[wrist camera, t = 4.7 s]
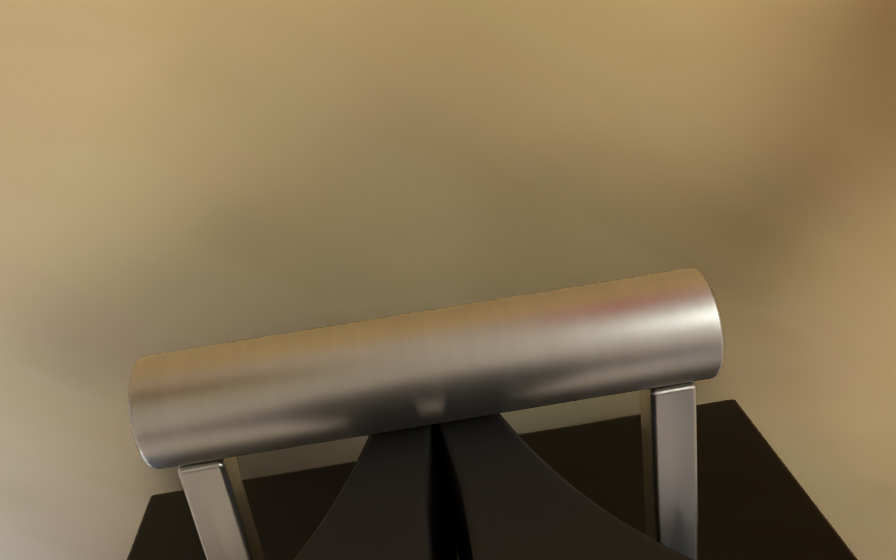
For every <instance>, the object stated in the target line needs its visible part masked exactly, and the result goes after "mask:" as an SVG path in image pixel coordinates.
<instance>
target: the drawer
mask: <svg viewBox="0 0 896 560" xmlns="http://www.w3.org/2000/svg"><path fill="white" fill-rule="evenodd" d="M723 360H724V332H723V324H722V319H721V314H720V310H719V306H718V303H717V300H716V297H715V295H714V292H713V290H712V288H711V286H710V284H709V282H708V280H707V279H706V277H705V276H704V275H703V273H702V272H700V271H699V270H697V269H693V268H688V269H682V270H675V271H669V272H663V273H657V274H651V275H644V276H638V277H632V278H626V279H619V280H613V281H607V282H601V283H595V284H588V285H582V286H576V287H570V288H563V289H557V290H551V291H545V292H539V293H532V294H526V295H520V296H514V297H507V298H501V299H495V300H489V301H483V302H476V303H470V304H464V305H458V306H452V307H445V308H439V309H433V310H427V311H420V312H414V313H408V314H402V315H396V316H389V317H383V318H377V319H371V320H364V321H358V322H352V323H346V324H340V325H333V326H327V327H321V328H315V329H308V330H302V331H296V332H290V333H284V334H277V335H271V336H265V337H259V338H252V339H246V340H240V341H234V342H228V343H221V344H215V345H209V346H203V347H197V348H190V349H184V350H178V351H172V352H165V353H159V354H153V355H147V356H143V357H142V358H140V359H139V360H138V361H137V362H136V363H135V365H134V367H133V369H132V372H131V377H130V382H129V395H128V403H129V416H130V423H131V428H132V432H133V436H134V439H135V443H136V446H137V448H138V451H139V453H140V455H141V457H142V458H143V460H144V461H145V463H146V464H147V465H148V466H150V467H152V468H155V469H163V468H169V467H175V466H179V468H178V474H179V477H180V480H181V483H182V486H183V489H184V490H181V491H175V492H169V493H163V494H157V495H153V496H151V498H150V500H149V503H148V506H147V508H146V511H145V514H144V516H143V519H142V522H141V524H140V527H139V529H138V532H137V535H136V537H135V540H134V543H133V545H132V548H131V551H130V553H129V556H128V558H127V560H294V559H295V557H296V556H297V555H298V553H299V552H300V551H301V549H302V548H303V547H304V545H305V544H306V543H307V541H308V540H309V539H310V537H311V536H312V535H313V533H314V532H315V530H316V529H317V528H318V526H319V525H320V523H321V522H322V520H323V519H324V517H325V516H326V514H327V513H328V511H329V509H330V508H331V506H332V504H333V503H334V501H335V499H336V498H337V496H338V494H339V493H340V491H341V489H342V488H343V486H344V484H345V482H346V481H347V479H348V477H349V476H350V474H351V472H352V470H353V468H354V466H355V464H356V462H357V461H356V462H350V463H344V464H338V465H332V466H326V467H320V468H314V469H308V470H302V471H296V472H290V473H284V474H278V475H272V476H266V477H259V478H253V479H247V480H242V479H241V475H240V472H239V468H238V465H237V462H236V458H235V457H236V456H242V455H248V454H254V453H260V452H266V451H273V450H279V449H285V448H291V447H297V446H303V445H309V444H315V443H321V442H327V441H333V440H339V439H345V438H352V437H358V436H364V435H370V434H376V433H382V432H388V431H394V430H400V429H406V428H412V427H418V426H424V425H431V424H437V423H443V422H449V421H455V420H461V419H467V418H473V417H479V416H485V415H491V414H497V413H503V412H510V411H516V410H522V409H528V408H534V407H540V406H546V405H552V404H558V403H564V402H570V401H576V400H582V399H589V398H595V397H601V396H607V395H613V394H619V393H625V392H631V391H637V390H640V410H641V415H634V416H628V417H622V418H616V419H610V420H604V421H598V422H592V423H586V424H580V425H574V426H568V427H562V428H556V429H550V430H544V431H538V432H532V433H526V434H520V435H519V436H520V437H521V438H522V439H523V440H524V441H525V442H526V444H527V445H528V446H529V447H530V448H531V449H532V450H533V451H534V452H535V453H536V454H537V455H538V456H539V457H540V458H541V459H542V460H544V461H545V462H546V463H547V464H548V465H549V466H550V467H551V468H552V469H553V470H555V471H556V472H557V473H558V474H559V475H560V476H561V477H562V478H564V479H565V480H566V481H567V482H568V483H570V484H571V485H572V486H573V487H575V488H576V489H577V490H578V491H579V492H581V493H582V494H583V495H585V496H586V497H587V498H589V499H590V500H592V501H593V502H594V503H596V504H597V505H598V506H600V507H601V508H602V509H604V510H605V511H607V512H608V513H610V514H611V515H613V516H614V517H616V518H617V519H619V520H620V521H622V522H624V523H626V524H627V525H629V526H631V527H633V528H634V529H636V530H638V531H640V532H641V533H643V534H645V535H647V536H648V537H650V538H652V539H654V540H655V541H657V542H659V543H661V544H663V545H665V546H667V547H669V548H671V549H673V550H675V551H677V552H679V553H681V554H684V555H686V556H688V557H690V558H692V559H694V560H857V558H856V557H855V556H854V555H853V553H852V552H851V551H850V549H849V548H848V547H847V545H846V544H845V543H844V541H843V540H842V539H841V538H840V536H839V535H838V534H837V532H836V531H835V530H834V528H833V527H832V526H831V524H830V523H829V522H828V521H827V519H826V518H825V517H824V515H823V514H822V513H821V511H820V510H819V509H818V508H817V506H816V505H815V504H814V502H813V501H812V500H811V498H810V497H809V496H808V494H807V493H806V492H805V491H804V489H803V488H802V487H801V485H800V484H799V483H798V481H797V480H796V479H795V478H794V476H793V475H792V474H791V472H790V471H789V470H788V468H787V467H786V466H785V464H784V463H783V462H782V461H781V459H780V458H779V457H778V455H777V454H776V453H775V451H774V450H773V449H772V447H771V446H770V445H769V444H768V442H767V441H766V440H765V438H764V437H763V436H762V434H761V433H760V432H759V431H758V429H757V428H756V427H755V425H754V424H753V423H752V421H751V420H750V419H749V417H748V416H747V415H746V414H745V412H744V411H743V410H742V408H741V407H740V406H739V404H738V403H737V402H736V401H735V400H733V399H731V400H725V401H719V402H713V403H707V404H701V405H696V386H695V384H694V382H693V381H698V380H704V379H710V378H713V377H715V376H716V375H718V374H719V372H720V371H721V368H722V365H723ZM455 542H456V541H455ZM456 549H457V547H456ZM457 560H460V559H459V555H458V552H457Z"/></svg>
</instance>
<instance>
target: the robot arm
mask: <svg viewBox="0 0 896 560" xmlns="http://www.w3.org/2000/svg"><path fill="white" fill-rule="evenodd" d="M455 541H456V542H455ZM456 547H457V549H456ZM457 552H458V555H459V559H460V560H694V559H692V558H690V557H688V556H686V555H684V554H681V553H679V552H677V551H675V550H673V549H671V548H669V547H667V546H665V545H663V544H661V543H659V542H657V541H655V540H654V539H652V538H650V537H648V536H647V535H645V534H643V533H641V532H640V531H638V530H636V529H634V528H633V527H631V526H629V525H627V524H626V523H624V522H622V521H620V520H619V519H617V518H616V517H614V516H613V515H611V514H610V513H608V512H607V511H605V510H604V509H602V508H601V507H600V506H598V505H597V504H596V503H594V502H593V501H592V500H590V499H589V498H587V497H586V496H585V495H583V494H582V493H581V492H579V491H578V490H577V489H576V488H575V487H573V486H572V485H571V484H570V483H568V482H567V481H566V480H565V479H564V478H562V477H561V476H560V475H559V474H558V473H557V472H556V471H555V470H553V469H552V468H551V467H550V466H549V465H548V464H547V463H546V462H545V461H544V460H542V459H541V458H540V457H539V456H538V455H537V454H536V453H535V452H534V451H533V450H532V449H531V448H530V447H529V446H528V445H527V444H526V442H525V441H524V440H523V439H522V438H521V437H520V436H519V435H518V434H517V433H516V432H515V431H514V430H513V429H512V428H511V426H510V425H509V424H508V423H507V422H506V421H505V419H504V418H503V417H502V416H501V415H500V413H497V414H491V415H485V416H479V417H473V418H467V419H461V420H455V421H449V422H443V423H437V424H431V425H424V426H418V427H412V428H406V429H400V430H394V431H388V432H382V433H376V434H370V435H369V437H368V440H367V442H366V444H365V446H364V448H363V450H362V452H361V454H360V456H359V458H358V460H357V462H356V464H355V466H354V468H353V470H352V472H351V474H350V476H349V477H348V479H347V481H346V482H345V484H344V486H343V488H342V489H341V491H340V493H339V494H338V496H337V498H336V499H335V501H334V503H333V504H332V506H331V508H330V509H329V511H328V513H327V514H326V516H325V517H324V519H323V520H322V522H321V523H320V525H319V526H318V528H317V529H316V530H315V532H314V533H313V535H312V536H311V537H310V539H309V540H308V541H307V543H306V544H305V545H304V547H303V548H302V549H301V551H300V552H299V553H298V555H297V556H296V557H295V559H294V560H457Z"/></svg>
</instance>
